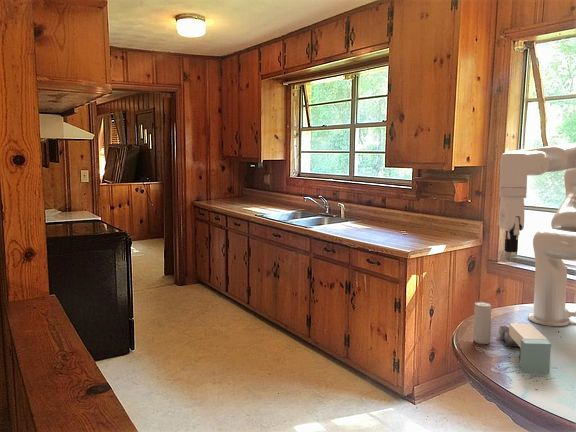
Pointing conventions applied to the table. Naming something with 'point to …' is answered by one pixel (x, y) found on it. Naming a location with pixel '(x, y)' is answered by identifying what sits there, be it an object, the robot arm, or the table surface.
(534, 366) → the block
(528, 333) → the slab
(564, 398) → the table surface
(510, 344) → the cylinder
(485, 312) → the beverage can
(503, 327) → the cylinder
